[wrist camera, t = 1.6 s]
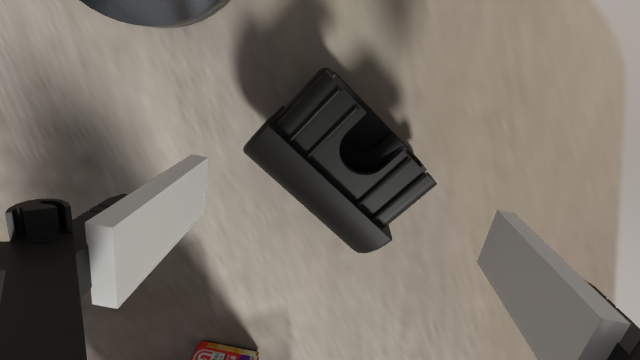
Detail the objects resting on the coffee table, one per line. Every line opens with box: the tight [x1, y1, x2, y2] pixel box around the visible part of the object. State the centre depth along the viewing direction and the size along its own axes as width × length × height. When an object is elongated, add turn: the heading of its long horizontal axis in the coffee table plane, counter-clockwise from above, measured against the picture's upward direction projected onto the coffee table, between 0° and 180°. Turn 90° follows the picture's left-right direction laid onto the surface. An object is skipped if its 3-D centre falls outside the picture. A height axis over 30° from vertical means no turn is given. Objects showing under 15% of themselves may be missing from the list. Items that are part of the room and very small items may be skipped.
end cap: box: [243, 68, 437, 253], centre depth 22 cm, size 10×7×7 cm
